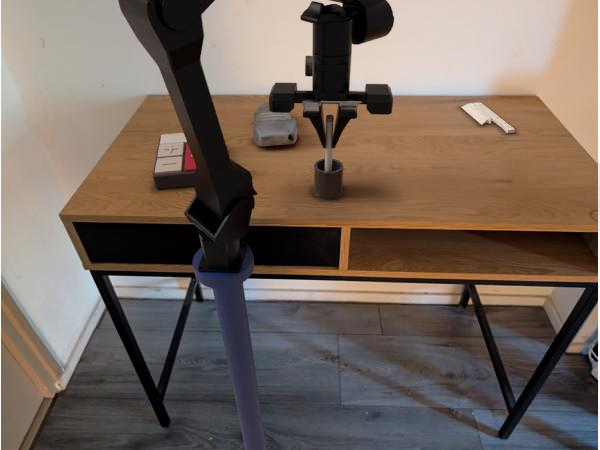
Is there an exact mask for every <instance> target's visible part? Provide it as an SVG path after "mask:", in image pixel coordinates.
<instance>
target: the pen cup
mask: <svg viewBox="0 0 600 450" xmlns="http://www.w3.org/2000/svg"><path fill="white" fill-rule="evenodd" d="M344 167H345V166H344V163H343V162H342V161H340V160H339V159H337V158H332V172H325V158H321V159H319V160H316V161H315V162H314V165H313V191H314V193H313V194H314V195H315V196H316V197H317V198H319V199H321V200H325V201H326V200H330V201H331V200H335V199H338V198H339V197H340V196H342V193H343V183H344Z"/></svg>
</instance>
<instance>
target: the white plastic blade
mask: <svg viewBox="0 0 600 450" xmlns="http://www.w3.org/2000/svg"><path fill="white" fill-rule="evenodd" d="M461 109H463V111H464V112H465V113H467V114H468V115H469V116H470V117H471V118H473V119H474V120H475V121H477V122H478V123H479V124H480V125H481V126H484V125H485V124H487V123H488V124H492V122H493V123H494V124H496V125H497V126H498V127H500V128H501V129H502V130H503V131H504V132H505V133H506V134H513V133H515V131H516V128H514V127H513V126H512V125H510V124H509V123H507V122H506V121H505V120H504V119H503V118H501V117H500V116H499V115H498V114H496V113H495V112H494V111H492V110H491V108H489V107H487V106H486V105H484V104H483V103H482V102H476V101H475V102H469V103H466V104H464V105H462V106H461Z"/></svg>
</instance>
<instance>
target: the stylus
mask: <svg viewBox="0 0 600 450" xmlns="http://www.w3.org/2000/svg"><path fill="white" fill-rule="evenodd" d="M334 120H335V116H334V115H333V114H327V115H326V116H325V133H326V148H324V151H325V152H324V154H325V155H324V159H325V172H332V159H333V148H332V143H333V133H334V122H335V121H334Z"/></svg>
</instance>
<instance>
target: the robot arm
mask: <svg viewBox="0 0 600 450" xmlns="http://www.w3.org/2000/svg"><path fill="white" fill-rule="evenodd" d="M117 1H118V5H119V9H120V12H121V13H122V16H123V17H124V19H125V20H126V22H127V24H128V25H129V27H130V29H131V30H132V32H133V34H134V35H135V37H136V39H137V40H138V42H139V43H140V44H141V46H142V47H143V48H144V49H145V51H146V52H147V54H148V55H149V56H150V58H151V59H152V60H153V61H154V62H155V64H156V65H157V67H158V69H159V71H160V74H161V77H162V79H163V82H164V85H165V88H166V90H167V93H168V95H169V98H170V101H171V104H172V106H173V109H174V111H175V114H176V117H177V119H178V122H179V125H180V127H181V130H182V133H184V135H185V138H186V140H187V143H188V146H189V148H190V151H191V154H192V156H193V159H194V162H195V164H196V171H195V176H194V186H193V187H194V191H195V194H194V195H193V197H192V198H191V200H190V202H189V204H188V205H187V207H186V208H185V211H184V212H183V214H184V216H185V218H186V219H187V220H188V221H189V223H191V224H193V225H194V226H195V227H196V228H198V231H197V232H198V236H199V241H200V244H201V246H200V247H202V251H203V255H202V258H201V260H200V263H199V266H198V271H199V272H212V273H236V274H237V273H239V272H240V271H241V267H242V263H243V259H244V255H245V251H246V247H247V246H246V244H247V243H246V242H244V243H239V241H240V239H242V238H243V237H245V236H247V235H248V230H249V227H250V222H251V218H252V213H253V209H255V205H256V201H255V196H257V195H258V192H257V191H256V189H255V188H254V183H253V176H252V173H251V171H250V170H249V169H247V168H245V167H244V166H243V165H241V164H239V163H238V162H236V161H234V160H232V159H231V156H230V153H229V150H228V146H227V143H226V140H225V137H224V134H223V130H222V127H221V124H220V120H219V118H218V117H219V116H218V114H217V110H216V108H215V104H214V101H213V98H212V93H211V91H210V87H209V84H208V81H207V78H206V74H205V70H204V68H203V65H202V58H201V57H202V51H203V46H204V40H205V30H204V22H203V14H204V13H205V12H206V11H207V9H209V7H210V6H211V5H212V4H213V3H214V2H215V1H216V0H117ZM329 1H331V2H334V3H329V4H324V3H323V2H320V1H314V0H312V1H311V2H310V4H309V6H308V7H307V8H306V9H305V10H304V11H303V12H302V13H301V15H300V17H299V18H300V21H302V22H306V23H310V24H312V46H311V47H312V53H311V55H305V59H304V60H305V61H304V76H305V77H312V79H311V80H312V81H311V82H312V83H311V88H312V89H311V90H298V82H275V83H274V84H273V85H272V86H271V89H270V93H269V95H268V102H269V111H270V112H272V113H290V114H291V112H292V111H293V110H294V109H295V104H302V107H303V110H302V118H304V119H308V120H309V121H310V122H311V124H312V126H313V128H314V129H315V131H316V134H317V136H318V139H319V142H320V144H321V146H322V149H325V148H326V123H325V117H324V105H326V104H327V105H337V110H336V115H335V121H334V126H333V143H332V149H336V146H337V144H338V142H339V140H340V138H341V136H342V134H343V132H344V130H345V128H346V127H347V126H348V124H349V122H351V120H355V119H357V118H358V108H359V105H366V107H365V108H366V109H365V110H366V111H367V112H368V113H369V114H370V115H379V116H380V115H381V116H383V115H385V116H387V115H388V116H389V115H391V114H392V113H393V107H394V106H393V105H394V96H393V92H392V88H391V87H390V86H389V84H388V83H365V86H364V91H363V90H362V91H361V90H350V86H351V71H352V70H351V68H352V53H353V45H355V46H358V45H362V44H365V43H369V42H372V41H376V40H378V39H382V38H384V37H386V36H388V35H389V34H390V33H391V31H392V30H393V28H394V24H395V16H394V11H393V9H392V6H391V4H390V3H389V1H388V0H329ZM338 3H339V4H338ZM340 4H342V5H340Z"/></svg>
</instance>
